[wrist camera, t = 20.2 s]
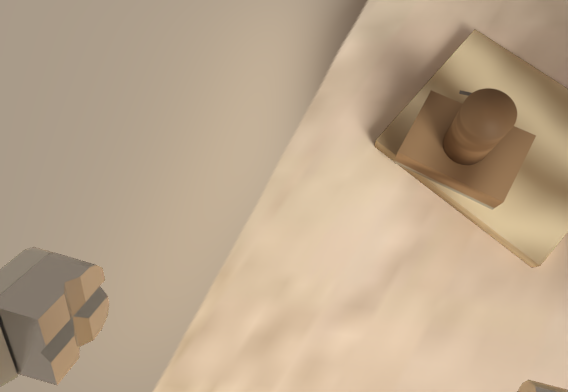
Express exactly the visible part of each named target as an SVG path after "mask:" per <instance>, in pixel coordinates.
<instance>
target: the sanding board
mask: <svg viewBox="0 0 568 392" xmlns="http://www.w3.org/2000/svg"><path fill="white" fill-rule="evenodd" d="M485 88H491V89H497V90H500V91H502V92H504V93H505V94H507V95H508V96H509V97H510V98H511V99H512V100H513V102H514V103H515V105H516V108H517V120H516V122H515V124H514V126H515V127H517V128H520V129H522V130H524V131H527V132H529V133H531V134H534V135H536V137H535V139H534V141H533V143H532V145H531V147H530V149H529V151H528V154H527V156H526V158H525V160H524V162H523V164H522V166H521V168H520V170H519V172H518V174H517V176H516V178H515V180H514V182H513V184H512V186H511V188H510V190H509V192H508V194H507V196H506V198H505V200H504V202H503V203H502V204H500V205H499V206H497V207H496V208H494V209H493V210H492V209H490V208H488V207H485V206H483V205H481V204H479V203H477V202H475V201H473V200H471V199H469V198H467V197H465V196H463V195H460V194H458V193H456V192H454V191H452V190H450V189H448V188H446V187H444V186H442V185H440V184H438V183H435V182H433V181H431V180H429V179H427V178H425V177H423V176H421V175H419V174H417V173H415V172H413V171H410V170H408V169H406V168H404V167H402V166H401V167H402V168H403V169H404V170H406V171H407V172H408V173H410V174H411V175H412V176H414V177H415V178H416V179H417V180H419V181H420V182H421V183H423V184H424V185H425V186H427V187H428V188H429V189H430V190H432V191H433V192H434V193H436V194H437V195H438V196H440V197H441V198H442V199H443V200H445V201H446V202H447V203H449V204H450V205H451V206H452V207H454V208H455V209H456V210H458V211H459V212H460V213H462V214H463V215H464V216H465V217H467V218H468V219H469V220H471V221H472V222H473V223H475V224H476V225H477V226H478V227H480V228H481V229H482V230H484V231H485V232H486V233H488V234H489V235H490V236H491V237H493V238H494V239H495V240H497V241H498V242H499V243H501V244H502V245H503V246H504V247H506V248H507V249H508V250H510V251H511V252H512V253H514V254H515V255H516V256H517V257H519V258H520V259H521V260H523V261H524V262H525V263H526V264H528V265H529V266H530V267H532V268H533V267H537V266H541V264H542V263H543V262H544V261H545V259H546V258H547V257H548V256H549V254H550V253H551V252H552V251H553V250H554V248H555V247H556V246H557V245H558V243H559V242H560V241H561V240H562V239H563V237H564V236H565V235H566V234H567V232H568V89H567V88H566V87H564V86H563V85H561V84H559V83H558V82H556V81H555V80H553V79H552V78H550V77H549V76H547V75H545V74H544V73H542V72H541V71H539V70H538V69H536V68H535V67H533V66H531V65H530V64H528V63H527V62H525V61H524V60H522V59H521V58H519V57H517V56H516V55H514V54H513V53H511V52H510V51H508V50H506V49H505V48H503V47H502V46H500V45H499V44H497V43H496V42H494V41H492V40H491V39H489V38H488V37H486V36H485V35H483V34H482V33H480V32H478V31H477V30H474V31H473V32H472V33H471V34H470V35H469V36H468V38H467V39H466V40H465V41H464V42H463V43H462V44H461V45H460V46H459V48H458V49H457V50H456V51H455V52H454V53H453V54H452V55H451V57H450V58H449V59H448V60H447V61H446V62H445V63H444V64H443V66H442V67H441V68H440V69H439V70H438V71H437V72H436V73H435V74H434V76H433V77H432V78H431V79H430V80H429V81H428V82H427V83H426V85H425V86H424V87H423V88H422V89H421V90H420V91H419V92H418V93H417V95H416V96H415V97H414V98H413V99H412V100H411V101H410V102H409V104H408V105H407V106H406V107H405V108H404V109H403V110H402V111H401V112H400V114H399V115H398V116H397V117H396V118H395V119H394V120H393V121H392V123H391V124H390V125H389V126H388V127H387V128H386V129H385V130H384V131H383V133H382V134H381V135H380V136H379V137H378V138H377V139H376V142H375V147H376V148H377V149H379V150H380V151H381V152H382V153H384V154H385V155H386V156H388V157H389V158H390V159H391V160H393V161H395V158H396V155H397V152H398V150H399V149H400V147H401V145H402V143H403V141H404V139H405V138H406V136H407V134H408V132H409V130H410V128H411V126H412V125H413V123H414V121H415V119H416V117H417V115H418V113H419V112H420V110H421V108H422V106H423V104H424V102H425V101H426V99H427V97H428V95H429V93H430V91H431V90H432V91H434V92H436V93H439V94H441V95H443V96H446V97H448V98H450V99H453V100H455V101H457V102H460V103H462V104H463V103H464V101H465V99H466V98H467V97H468V96H469V95H470V94H471V93H473V92H475V91H477V90H480V89H485ZM399 166H400V165H399Z"/></svg>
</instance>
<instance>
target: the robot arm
mask: <svg viewBox="0 0 568 392" xmlns="http://www.w3.org/2000/svg"><path fill="white" fill-rule="evenodd" d="M104 281H105V277H104V273H103V268H102V267H100V266H97V265H94V264H91V263H88V262H85V261H81V260H78V259H74V258H71V257H68V256H65V255H61V254H58V253H53V252H50V251H47V250H43V249H40V248H36V247H32V248H28V249H25V250H24V251H22V252H21V253H20V254H19V255H17V256H16V257H15V258H14V259H12V260H11V261H10V262H9V263H7V264H6V265H5V266H4V267H2V268H1V269H0V387H1V386H3V385H5V384H6V383H8V382H9V381H12V380H13V379H15V378H17V377H18V374H20V375H23V376H27V377H30V378H34V379H37V380H41V381H44V382H47V383H51V384H54V385H58V384H59V383H60V381H61V380H62V379H63V377H64V376H65V375H66V374H67V372H68V371H69V370H70V369H71V367H72V366H73V365H74V364H75V363H76V361H77V360H78V359H79V349H80V346H82V345H84V344H86V343H89V342H91V341H93V340H94V339H95V337H96V336H97V335H98V333H99V332H100V331H101V330H102V327H103V325H104V323H105V321H106V318H107V316H108V310H109V301H108V296H107V294H106V293H105V292H104V291H103V290H102V288H101V287H100V285H101V284H102V283H103V282H104ZM517 392H568V390H567V389H563V388H559V387H555V386H551V385H547V384H543V383H539V382H535V381H531V380H527V381H525V382H524V383H522V385H521V386H520V388H519V390H518V391H517Z"/></svg>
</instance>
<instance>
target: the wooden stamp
mask: <svg viewBox="0 0 568 392" xmlns="http://www.w3.org/2000/svg"><path fill="white" fill-rule="evenodd" d="M516 120H517V108H516V105H515V103H514V102H513V100H512V99H511V98H510V97H509V96H508V95H507V94H505V93H504V92H502V91H500V90H497V89H491V88H485V89H480V90H477V91H475V92H473V93H471V94H470V95H469V96H468V97H467V98H466V99H465V101H464V103H463V104H462V103H460V102H457V101H455V100H453V99H450V98H448V97H446V96H443V95H441V94H439V93H436V92H434V91H432V90H431V91H430V93H429V95H428V97H427V99H426V101H425V102H424V104H423V106H422V108H421V110H420V112H419V113H418V115H417V117H416V119H415V121H414V123H413V125H412V126H411V128H410V130H409V132H408V134H407V136H406V138H405V139H404V141H403V143H402V145H401V147H400V149H399V150H398V152H397V155H396V158H395V161H394V163H396V164H398V165H400V166H402V167H404V168H406V169H408V170H410V171H413V172H415V173H417V174H419V175H421V176H423V177H425V178H427V179H429V180H431V181H433V182H435V183H438V184H440V185H442V186H444V187H446V188H448V189H450V190H452V191H454V192H456V193H458V194H460V195H463V196H465V197H467V198H469V199H471V200H473V201H475V202H477V203H479V204H481V205H483V206H485V207H488V208H490V209H492V210H493V209H494V208H496V207H497V206H499V205H500V204H502V203H503V202H504V200H505V198H506V196H507V194H508V192H509V190H510V188H511V186H512V184H513V182H514V180H515V178H516V176H517V174H518V172H519V170H520V168H521V166H522V164H523V162H524V160H525V158H526V156H527V154H528V151H529V149H530V147H531V145H532V143H533V141H534V139H535V137H536V135H534V134H531V133H529V132H527V131H524V130H522V129H520V128H517V127H515V126H514V124H515V122H516Z"/></svg>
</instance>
